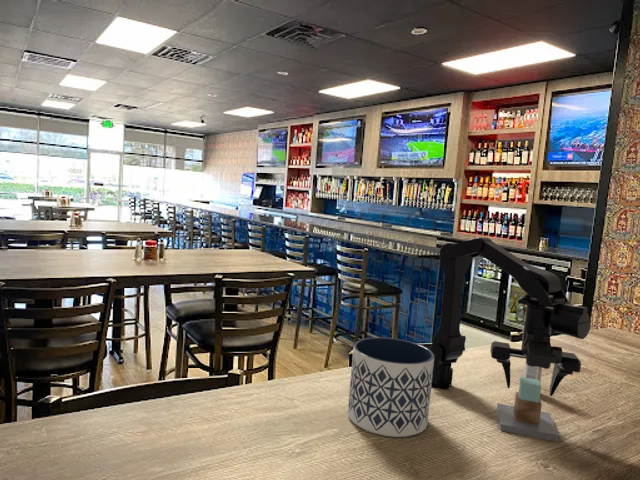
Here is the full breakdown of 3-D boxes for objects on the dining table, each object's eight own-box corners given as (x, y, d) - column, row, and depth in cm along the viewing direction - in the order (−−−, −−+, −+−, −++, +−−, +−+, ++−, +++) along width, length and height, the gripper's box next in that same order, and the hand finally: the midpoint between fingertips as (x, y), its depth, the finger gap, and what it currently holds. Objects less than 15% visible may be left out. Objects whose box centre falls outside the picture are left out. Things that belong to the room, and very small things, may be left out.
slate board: (500, 430, 109) (501, 423, 109) (496, 409, 121) (497, 403, 121) (557, 441, 106) (558, 435, 106) (548, 418, 118) (549, 412, 117)
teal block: (520, 399, 112) (522, 382, 111) (518, 393, 115) (520, 376, 115) (539, 402, 110) (541, 386, 110) (536, 396, 114) (538, 379, 114)
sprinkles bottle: (542, 393, 134) (548, 346, 133) (533, 396, 131) (539, 348, 130) (527, 387, 138) (533, 341, 136) (518, 389, 135) (523, 343, 134)
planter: (376, 445, 98) (383, 367, 97) (333, 407, 114) (338, 340, 113) (444, 431, 107) (452, 359, 105) (395, 397, 123) (401, 335, 121)
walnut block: (515, 420, 112) (518, 399, 111) (513, 411, 117) (515, 391, 116) (539, 424, 110) (541, 404, 110) (535, 415, 115) (538, 395, 115)
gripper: (497, 328, 106) (489, 397, 108) (591, 342, 101) (581, 414, 103) (494, 317, 117) (486, 379, 118) (579, 329, 112) (570, 394, 113)
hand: (529, 391), depth 113 cm, fingers open, 9 cm apart
